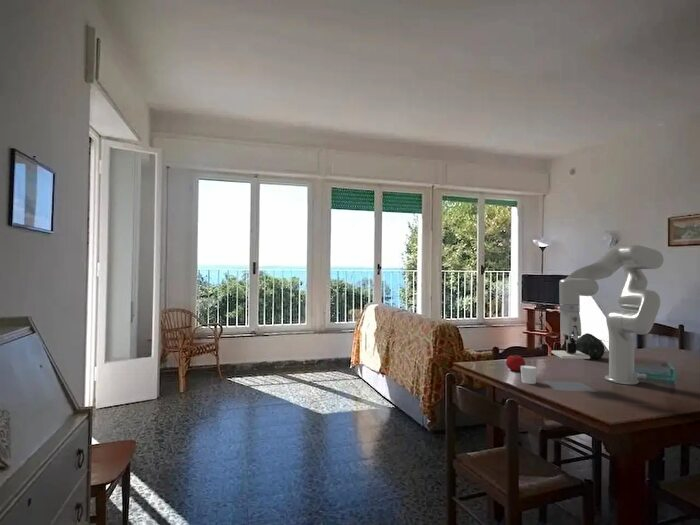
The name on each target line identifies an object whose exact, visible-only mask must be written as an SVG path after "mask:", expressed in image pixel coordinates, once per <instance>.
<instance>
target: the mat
mask: <svg viewBox="0 0 700 525" xmlns="http://www.w3.org/2000/svg"><path fill="white" fill-rule="evenodd" d="M543 383H545V384H547V385H548V386H549V387H550V388H551V389H553V390H554V391H562V392H569V391H570V392H584V393H585V392H591V393H597V392H598V391H596V390H595V389H593V388H592V387H590V386H588V385H586V384H585V383H584V382H580V381H579V382H578V381H576V382H575V381H556V380H555V381H554V380H553V381H552V380H550V381H549V380H543Z"/></svg>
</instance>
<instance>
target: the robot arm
mask: <svg viewBox="0 0 700 525" xmlns="http://www.w3.org/2000/svg"><path fill="white" fill-rule="evenodd" d="M664 259H665V258H664V256H663V254H662V252H660V251H659V250H657V249H655V248H651V247H647V246H644V245H640V244H627V245H625V244H621V245H620V244H619V245H616V246H612V247H611V248H610V249H608V250H607V251H606V252H605V253H603V254H602V255H601V256H600V257H599V258H598V259H597V260H595V261H594V262H591V263H588V264H587V265H585V266H582V267H580V268H577V269H575V270H574V271H573V272H571V273H570V274H569V275H568V276H567V277H566V278H563V279H560V280H559V286H558V288H559V289H558V290H559V294H558V295H559V296H558V298H559V299H558V300H559V312H560V320H559V322H560V324H559V325H560V332H561V334H562V336H563V351H566V340H568V342H569V343H568V353H576V340H577V339H578V338H579V337H581V336H582V323H581V314H580V311H581V310H580V309H581V306H580V305H581V304H580V301H581V300H580V299H581V298H580V296H582V297H592V296H594V295H596V294H597V293H598V291H599V288H600V287H599V284H598V282H597V281H599V280H603V279H606V278H610V277H611V276H613V275H614V274H615V273H616V272H617V271H618V270H619V269H620V268H621V267H622V269H623V273H624V275H625V280H624V283H623V285H622V288H621V291H620V293H619V296H618V298H617V303H618V306H619V307H620V308H622V309H614V310H611V311H609V313H608V314H607V315H606V319H605V320H606V326H607V330H608V331H607V332H608V374H606V375H605V376H604V379H605V380H606V381H607V382H611V383H615V384H621V385H638V384H639V379H647V374H646V373H639V372H636V371H635V340H634V337H633V336H632V334H635V335H646V334H649V332H651V330H652V328H653V326H654V324H655V321H656V318H657V315H658V313H659V310H660V307H661V298H660V294H658V292H656V291H654V290H652V289H647V286H648V278H647V276H646V275H645V273H644V272H643V271H642V270H657V269H660V268H661V267H662V266H663V264H664V261H665V260H664Z"/></svg>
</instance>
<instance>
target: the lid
mask: <svg viewBox="0 0 700 525" xmlns="http://www.w3.org/2000/svg"><path fill="white" fill-rule="evenodd" d="M568 343H569V342H568V340H566V351H564V350H554V349H553V350H550V351H551V354H553V355H555V356H557V357H559V358H560V359H573V360H574V359H578V360H579V359H580V360H581V359H582V360H583V359H586V360H591V359H590V356H588V355H586V354H584V353H582V352H580V351H576V353H568Z"/></svg>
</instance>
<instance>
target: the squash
mask: <svg viewBox="0 0 700 525" xmlns="http://www.w3.org/2000/svg"><path fill="white" fill-rule="evenodd" d="M605 349H606V348H605V345H604V344H603V343H602V341H601V340H600V339H598V337H596V336H595V335H593V334H592V333H588V332H585V333H583V335H582V334H581V336H578V339H577V340H576V351H580V352H582V353H584V354H586V355H588V356H590V359H589V360H591V359H592V360H598V359H601V358H602V357H603V356H604V354H605Z"/></svg>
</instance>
